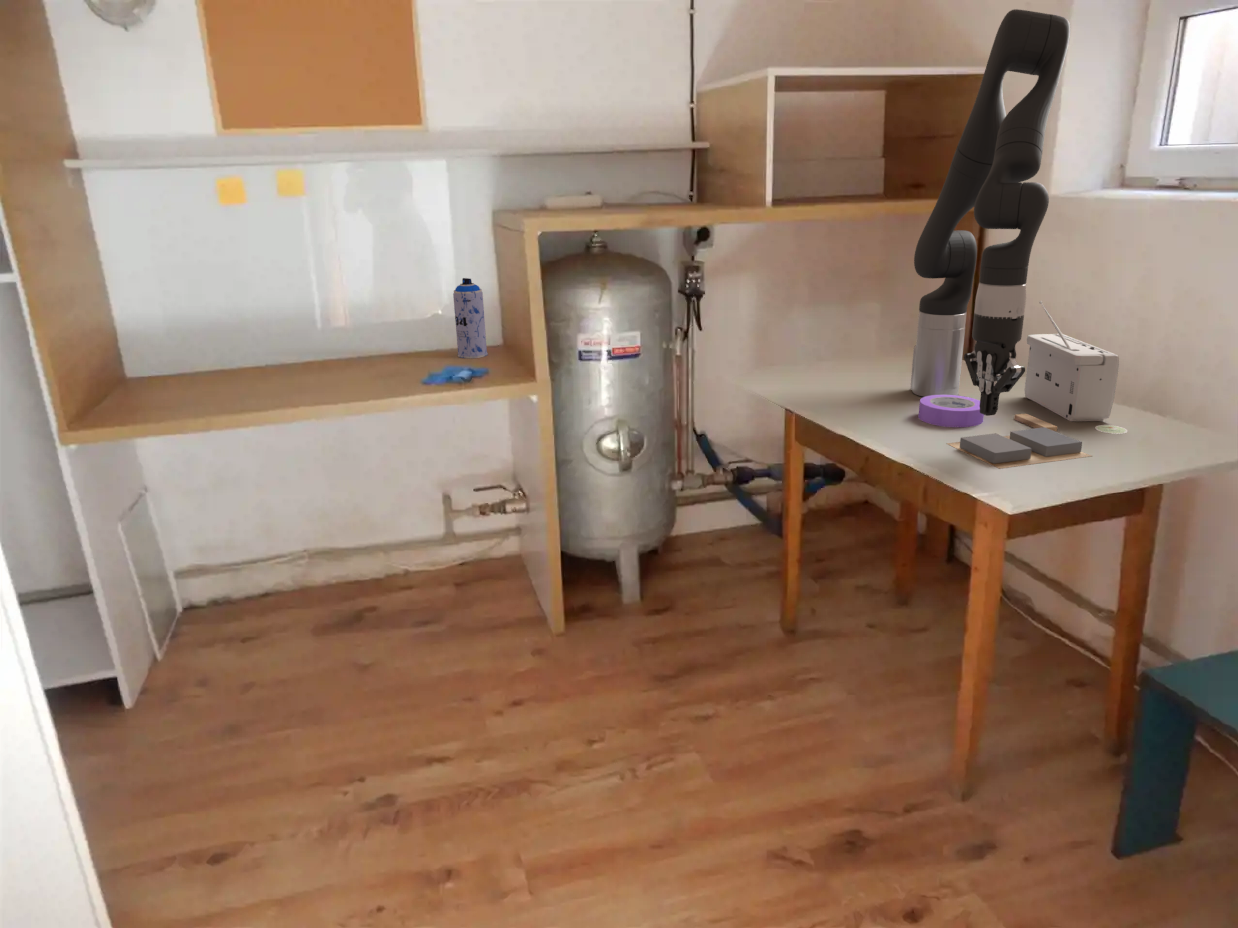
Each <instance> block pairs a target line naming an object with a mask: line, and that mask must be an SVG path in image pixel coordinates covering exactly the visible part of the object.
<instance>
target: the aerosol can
mask: <svg viewBox="0 0 1238 928" xmlns="http://www.w3.org/2000/svg"><path fill="white" fill-rule="evenodd" d="M452 295H453V306H454V308H453V309H454V310H453V311H454V319H455V320H454V322H455V330H456V344H457V357H458V358H460V359H478V358H479V359H480V358H484V357H487V356H489V353H488V350H487V349H488V348H487V338H486V337H487V336H486V321H485V307H484V295H483V290H482V288H480V286H479V285H477V284H475V283H474V282H472V278H469V277H468V278H467V277H463V278H462V283H460V284H458V285H457V286H456V287H455V289H454V290H453V294H452Z"/></svg>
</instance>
